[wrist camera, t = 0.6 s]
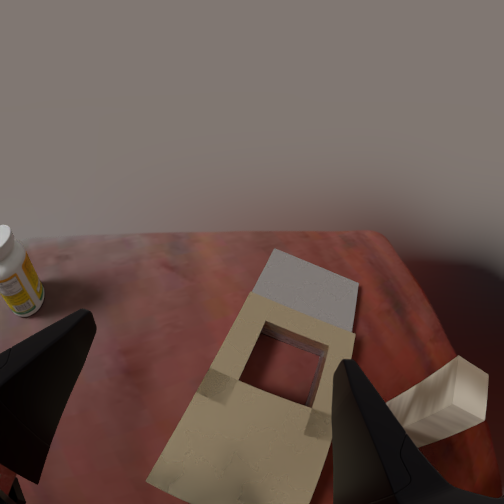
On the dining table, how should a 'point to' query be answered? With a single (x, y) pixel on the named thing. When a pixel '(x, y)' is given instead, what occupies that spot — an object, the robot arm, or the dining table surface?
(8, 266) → the supplement bottle
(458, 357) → the maple pin
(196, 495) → the plate with square hole
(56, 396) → the robot arm
